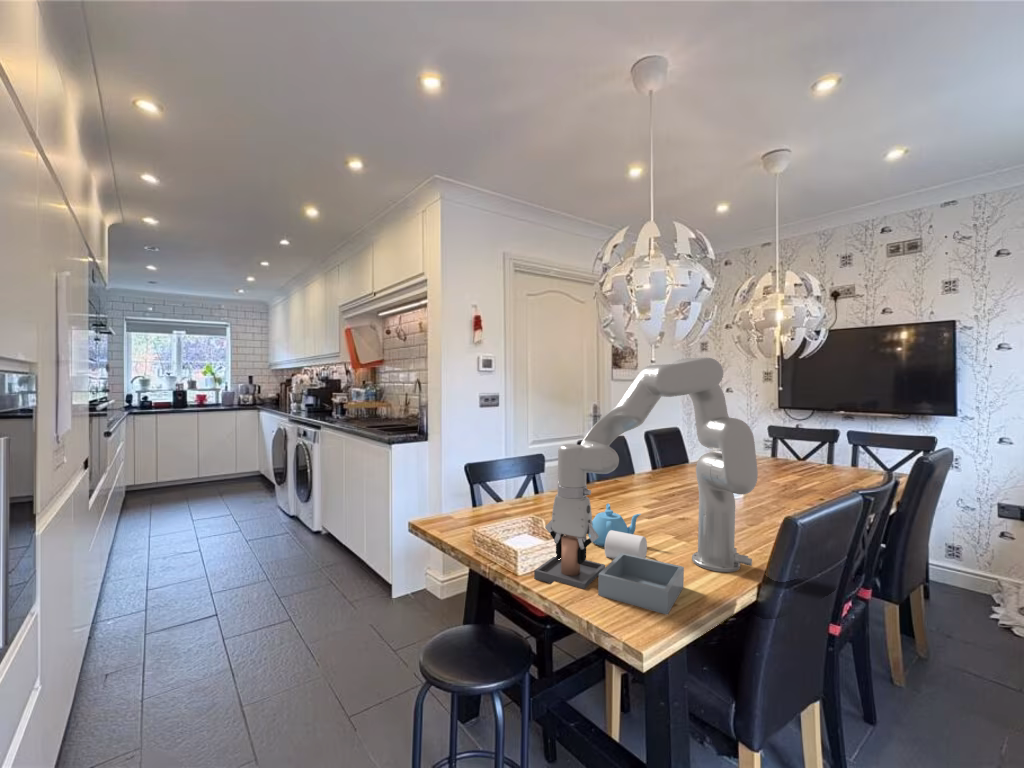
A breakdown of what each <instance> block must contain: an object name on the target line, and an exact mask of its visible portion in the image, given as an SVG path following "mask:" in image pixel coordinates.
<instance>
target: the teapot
mask: <svg viewBox="0 0 1024 768" xmlns="http://www.w3.org/2000/svg"><path fill="white" fill-rule="evenodd" d="M605 507H606V508H605V510H604V511H601V512H598V513H597V514H595V516H594V517H593V518H592V527H593V528H594V530H595V531H596V533H597V534H598V536H599V537H598V538H597V539H596V540H595V541H593V542H592V543H593V544H595V545H596V546H599V547H603V548H605V541H606V537H607V534H608V532H609V531H610V530H613V531H618V532H623V533H628V534H633V535H635V531H636V523H637V519H638V518H639V517H640V516H641V515H642V513H636V514H633V516H632V517H631V520H630V521H631V522H630V523H631V524H630V525H629V526H628V525H627V523H626V521H625V520H624V518H623V517H622V516H621V514H619V513H616V512H614V510H612V509H611V504H610V503H606V505H605ZM587 536H588V539H589V538H590V537H591V535H590V534H587Z"/></svg>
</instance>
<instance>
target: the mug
mask: <svg viewBox="0 0 1024 768" xmlns="http://www.w3.org/2000/svg"><path fill="white" fill-rule="evenodd" d="M646 538H647V537H646V536H643V535H637V534H628V533H623V532H618V531H613V530H610V531H609V532H608V534H607V537H606V541H605V547H604V555H605V557H606V558H607V559H613V560H614V559H615V558H616V557H617V556H618V555H619V554H620V553H624V554H629V555H633V556H638V557H642V558H647V552H648V542H647V539H646Z"/></svg>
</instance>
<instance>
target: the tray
mask: <svg viewBox="0 0 1024 768" xmlns="http://www.w3.org/2000/svg"><path fill="white" fill-rule="evenodd" d="M605 567H606V564H604V563H599V562H596V561H592V560H587V559H586V560H585V561H584V562H583V563H581V564H580V574H579V575H576V576H568V575H564V574H563V573H562V572H561V559H560V560H558V559H557V556H556V557H554V556H553V557H551V558H550V559H548V560H547V561H545V562H544V563H543V564H541V565H540V566H538V567H537V568H536V569H534V570H533V571H534V572H533V577H534V578H533V579H534V580H537V581H542V582H545V583H548V584H553V583H554V582H557V583H561V584H565V585H568V586H572V587H575V588H579V589H582V590H585V589H586V588H587V587H589V586H590V584H592V583H593V581H594V580H596V579H597V578H599V573H600V572H601V571H602V570H603V569H604V568H605Z"/></svg>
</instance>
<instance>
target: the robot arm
mask: <svg viewBox="0 0 1024 768" xmlns="http://www.w3.org/2000/svg"><path fill="white" fill-rule="evenodd" d="M723 378H724V368H723V366H722V365H721V364H720V362H719V361H718V360H716V359H715V358H713V357H712V358H711V357H706V356H705V357H692V358H691V357H690V358H681V359H678V360H675V361H673V362H672V363H669V364H652V365H647V366H645V367H643V368H642V369H641V370H640V371H639V372H638V374H637V375H636V376H635V378H634V379H633V380H632V382H631V384H630V385H629V386H628V388H627V389H626V391H624V392H625V393H624V394H623V395H622V396H621V398H620V399H619V401H618V402H617V404H616V405H614V407H613V408H612V409H610V410H609V411H608V412H607V413H606V414H605V415H603V416H602V417H601V418H600V419H599V420H598V421H597V422H596V423H595V424H594V425H593V426H592V427H591V428H590V429H589V430H588V432H587V434H586V435H585V437H584V438H583V439H582V441H581V443H580V444H576V443H567V444H562V445H560V446H559V447H558V453H557V493H556V494H555V496H554V500H553V506H552V515H551V519H550V521H548V523H547V524H546V525H545V526H544V527H545V528H544V529H545V530H546V531H547V532H548V533H549V534H550V536H551V538H552V539H553V542H554V544H555V555H557V559H560V558H561V539H562V536H564V535H569V536H573V537H577V538H578V542H579V546H580V548H579V549H578V564H581V563H583V562H584V561H585V560H587V547H588V546H590V545H591V544H592V543H593V541H595V540H596V539H597V538H598V537H599V536H598V534H597V533H596V531H595V530H594V528H593V527H592V521H593V515H592V507H591V501H590V498H589V496H591V494H592V490H591V489H589V488H588V486H587V474H588V473H590V474H599V475H607V474H608V475H609V474H610V473H612V472H614V471H615V470H616V469H617V468H618V467H619V463H620V457H619V455H618V452H616V450H615V449H613V448H612V447H611V446H610V445H612V443H613V442H614V441H615V440H616V439H617V438H618V437H619V436H620V435H623V434H624V433H626V432H628V431H631V430H633V429H635V428H639V427H640V426H641V425H642V424H644V422H645V421H646V420H647V418H648V416H649V415H650V414H651V412H652V411H653V409H654V407H655V406H656V404H657V403H658V402H659V400H660V399H661V398H662V397H664V398H665V397H666V398H671V397H680V396H686V395H689V397H690V399H691V400H692V404H693V410H694V417H695V418H694V419H695V420H694V421H695V428H696V436H697V440H698V442H699V443H700V445H701V446H703V447H706V448H708V449H711V450H714V452H713V451H712V452H706V453H704V454H703V455H701V456H700V457H699V458H698V460H697V462H696V466H695V475H696V481H697V487H698V488H697V489H698V519H697V520H698V522H697V523H698V527H697V528H698V529H697V531H698V533H697V552H694V553H693V554H692V555H691V560H692V563H694V564H695V565H697V566H699V568H703V569H705V570H709V571H713V572H719V573H720V572H721V573H732V572H733V573H734V572H737V571H739V570H740V569H741V565H742V564H743V565H745V566H750V567H752V566H753V558H750V557H749V556H748V555H745V554H739V552H737V551H738V550H737V548H736V547H735V537H736V536H735V533H736V530H735V529H736V499H735V495H734V494H736V495H746V494H749V493H751V492H752V491H754V489H755V487H756V485H757V483H758V478H759V477H758V476H759V475H758V473H759V471H758V462H757V451H756V443H755V438H754V437H755V436H754V434H753V431H752V429H751V427H750V426H749V425H748V423H746V422H745V421H744V420H742V419H740V418H735V417H729V414H728V413H729V412H728V407H727V401H726V398H725V397H726V396H725V393H724V391H723V389H722V387H721V386H720V384H721V382H722V380H723ZM715 451H718V452H715ZM719 451H720V452H719ZM588 534H590V535H591V537H590V538H589V537H588V538H587V535H588Z"/></svg>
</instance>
